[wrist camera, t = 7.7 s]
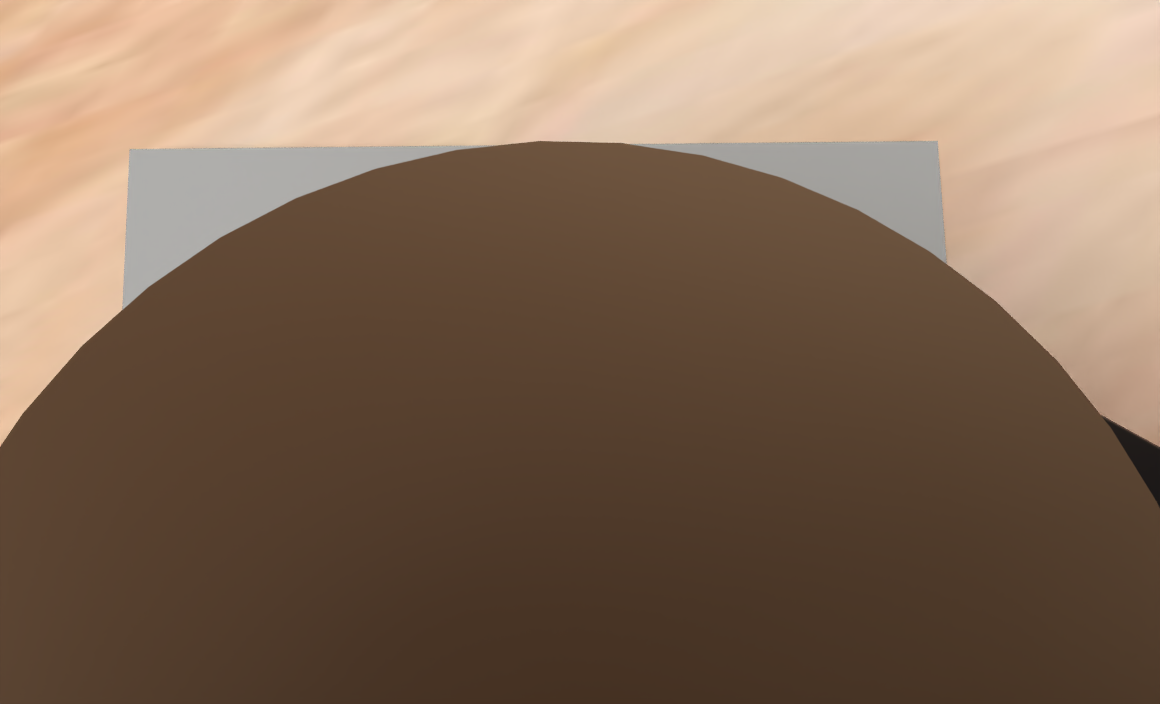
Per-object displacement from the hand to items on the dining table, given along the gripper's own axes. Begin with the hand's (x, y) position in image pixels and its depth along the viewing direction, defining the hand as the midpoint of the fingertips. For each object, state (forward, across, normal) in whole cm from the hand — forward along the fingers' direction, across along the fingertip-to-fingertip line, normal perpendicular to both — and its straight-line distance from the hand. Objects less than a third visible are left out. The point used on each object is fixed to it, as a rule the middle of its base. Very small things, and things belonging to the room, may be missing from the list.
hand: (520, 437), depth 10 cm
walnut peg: (+5, 0, +7) cm, 8 cm away
